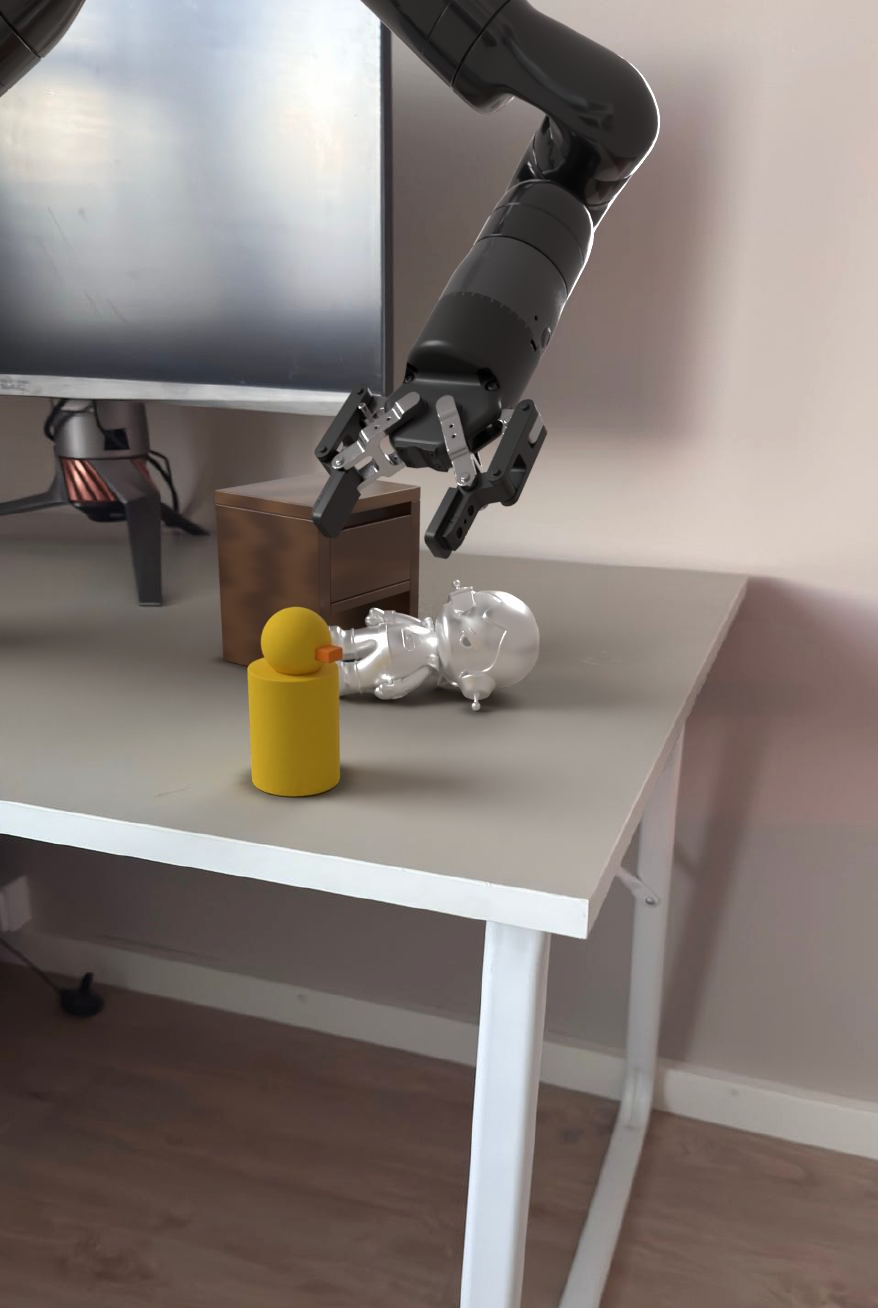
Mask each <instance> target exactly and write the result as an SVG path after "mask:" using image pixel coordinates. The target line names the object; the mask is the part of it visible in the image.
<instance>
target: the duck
mask: <svg viewBox="0 0 878 1308" xmlns="http://www.w3.org/2000/svg"><path fill="white" fill-rule="evenodd" d="M261 648H262V652H263V655H264V657H265V658H261V659H258V660H256V661H254V662H252V663H251V664H250V665H249V666H247V669H246V670H247V691H248V693H247V694H248V714H249V715H248V716H249V718H248V719H249V739H250V741H249V742H250V763H251V764H250V765H251V767H250V768H251V781H252V784H253V785H254V786H255V788H257V789H258V790H260V791H261V792H264V793H266V794H271V795H274V796H279V797H280V796H281V797H305V796H306V797H308V796H313V795H318V794H321V793H325V792H327V791H329V790H331V789H333V788H334V787H336V786H337V785H338V784H339V782H340V780H341V758H340V757H341V754H340V751H341V750H340V749H341V748H340V747H341V746H340V742H341V741H340V696H339V667H338V665H337V664H336V663H335V662H336V661H338V660H341V659H342V658H343V649H342V647H338V646H334V645H332V637H331V632H330V630H329V628H328V626H327V624H326V622H325V621H324V620H323V619H322V618H321V617H320V616H319V615H318V614H317V613H315V612H313V611H312V610H309V609H306V608H302V607H290V608H286V609H283V610H281V611H279V612H277V613H276V614H274V615H273V616H272V617H271V618H270V619H269V620H268V622H267V623H266V625H265V627H264V629H263V632H262V636H261Z"/></svg>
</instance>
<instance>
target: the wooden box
mask: <svg viewBox="0 0 878 1308" xmlns="http://www.w3.org/2000/svg"><path fill="white" fill-rule="evenodd" d="M329 477H330V475H329V474H328V472H322V471H321V472H315V473H307V474H303V475H296V476H291V477H285V478H278V479H273V480H267V481H262V482H255V483H249V484H244V485H237V486H232V487H231V486H230V487H226V488H219V489H215V490H214V502H215V520H216V521H215V522H216V523H215V524H216V541H217V542H216V543H217V564H218V578H219V579H218V581H219V582H218V583H219V602H220V603H219V604H220V620H221V621H220V622H221V641H222V643H221V644H222V660H223V661H225V662H229V663H233V664H237V665H240V666H244V667H248V666H249V665H250V664H251V663H252V662H254V661H256V660H258V659H261V658H265V657H264V655H263V652H262V648H261V636H262V632H263V629H264V627H265V625H266V623H267V622H268V620H269V619H270V618H271V617H272V616H273V615H274V614H276V613H277V612H279V611H281V610H283V609H286V608H290V607H302V608H306V609H309V610H312V611H313V612H315V613H317V614H318V615H319V616H320V617H321V618H322V619H323V620H324V621H325V622H326V624H327V626H339V627H340V628H341V629H342V630H351V628H354V630H356V629H361V628H366V627H367V625H366V624H365V618H366V617H367V616H368V615H369V614H370V613H369V611H370V609H371V608H378V609H380V610H383V611H391V610H393V611H395V612H396V613H401V614H405V615H409V616H412V617H414V618H417V619H419V605H420V604H419V603H420V600H419V599H420V597H419V596H420V595H419V594H420V548H421V547H420V545H421V543H420V542H421V493H422V492H421V488H422V487H421V486H420V485H415V484H406V483H400V482H399V483H398V482H392V481H387V480H379V479H376V480H375V481H374V482H372V483H371V484H369V485H368V486H366V487H365V488H363V489H362V490H360V491H359V492H360V493H361V496H360V497H359V499H358V501H357V503H356V505H355V507H354V508H353V510H352V512H351V514H350V516H349V517H348V519H347V521H346V523H345V525H344V527H343V528H342V530H341V532H340V534H339V536H338V537H337V538H335V539H334V538H328V537H324V536H323V535H322V533H321V532H320V531H319V530H318V528H317V527H316V526H315V524H314V523H313V520H312V517H313V515H312V508H313V506H314V504H315V502H316V500H317V499H318V497H319V495H320V493H321V491H322V490H323V488H324V486H325V484H326V482H327V481H328V479H329Z"/></svg>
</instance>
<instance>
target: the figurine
mask: <svg viewBox="0 0 878 1308" xmlns="http://www.w3.org/2000/svg"><path fill="white" fill-rule="evenodd" d="M451 586H452V588H454V590H452V591H451V592H449V594H448V597H447V602H446V603H445V604H443V605H441V606H440V608H439V609H438V611H437V614H436V618H435V625H434V621H433V618H432V617H430V616H429V617H424V618H422V620H421V619H419V618H418V619H417V618H414V617H412V616H409V615H405V614H401V613H396V612H395V611H393V610H391V611H383V610H380V609H378V608H371V609H370V611H369V613H370V614H369V615H368V616H367V617H366V618H365V624H366V625H367V627H366V628H361V629H356V630H354V628H351V630H342V629H341V628H340V627H339V626H328V628H329V630H330V632H331V637H332V645H334V646H338V647H342V649H343V658H342V659H341V660H338V661H336V662H335V663H336V664H337V665H338V667H339V697H342V696H344V695H349V694H356V693H359V694H363V693H364V691H369V690H373V694H374V696H375V697H376V698H378V699H380V700H397V699H401V698H403V697H405V696H408V695H409V693H411V692H413V691H414V690H416V689H417V688H418V687H420V686H421V685H423V684H424V683H425V682H427V680H429V678H430V677H432V678H435V679H437V684H436V685H437V686H438V687H442V686H445V685H447V684H450V685H451V686H452V687H455V688H458V689H459V690H460V691H461V693H462V695H463V696H464V697H465V698H466V699H469V700H473V702H472V703H471V709H472V710H473V711H476V712H477V711H479V710H480V709H481V704H480V702H479V701H482V700H484V699H487V698H488V697H490V695H491V693H492V691H495V690H500V689H505V688H508V687H510V686H514V685H516V684H518V683H520V682H521V681H523V680H524V679H525V678H526V677H527V676H529V674H530V673H531V672H532V670H533V669H534V667H535V666H536V664H537V661H538V659H539V655H540V647H541V645H540V644H541V643H540V641H541V640H540V639H541V638H540V637H541V636H540V635H541V634H540V629H539V626H538V624H537V621H536V618H535V616H534V614H533V612H532V610H531V609H530V608H529V606H528V605H527V604H526V603H525V602H524V601H522V599H519V598H518V597H516V596H514V595H513V594H511V593H508V592H505V591H502V590H479V591H475V590H474V589H473V585H472V586H462V587H461V581H460V580H458V579H455V580H452V583H451ZM349 660H351V661H349ZM352 660H354V661H352ZM346 661H349V662H346Z"/></svg>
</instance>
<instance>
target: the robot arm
mask: <svg viewBox="0 0 878 1308" xmlns="http://www.w3.org/2000/svg"><path fill="white" fill-rule="evenodd" d="M359 1H360V2H361V3H362V4H363V5H364V6H365V7H366V8H367V9H368V10H369V11H370V12H371V13H372V14H373V15H374V16H376V18H377V19H378V20H379V21H380V22H381V23H382V24H383V25H385V27H386V28H388V29H389V30H390V32H391V33H392V34H394V35H395V37H396V38H398V40H399V41H400V42H402V43H403V44H404V45H405V47H406V48H407V49H408V50H410V51H411V52H412V53H413V54H414V55H415V56H416V58H418V59H419V60H420V62H422V63H423V65H425V66H426V67H427V68H428V69H429V70H430V71H431V72H432V73H433V74H434V75H435V76H436V77H437V78H438V79H439V80H440V81H441V82H443V83H444V85H445V86H447V88H448V89H450V90H451V91H452V92H453V93H454V94H455V95H456V96H457V97H458V98H459V99H460V100H461V101H462V102H463V103H465V105H467V106H468V107H469V108H471V109H472V110H474V111H475V112H477V113H478V114H481V115H486V116H489V115H492V114H496V113H497V112H500V111H501V110H503V109H504V108H505V107H506V106H508V104H510V102H512V101H513V100H514V99H515V98H516V99H519V100H520V101H523V102H525V103H526V104H529V105H530V106H533V107H535V108H536V109H537V110H538V111H541V112H542V113H544V116H543V118H542V120H541V121H540V123H539V125H538V127H537V128H536V130H535V132H534V134H533V135H532V137H531V139H530V141H529V142H528V144H527V146H526V148H525V150H524V152H523V154H522V156H521V158H520V160H519V162H518V164H517V166H516V168H515V170H514V172H513V173H512V177H511V179H510V181H509V182H508V185H507V188H506V190H505V193H504V194H503V195H502V197H501V198H500V199H499V201H498V202H497V203H496V205H495V206H494V208H493V210H492V211H491V213H490V215H488V218H487V219H486V221H485V223H484V225H483V226H482V229H481V230H480V232H479V234H478V235H477V237H476V239H475V241H474V242H473V245H472V246H471V248H470V250H469V252H468V253H467V254H466V256H465V257H464V258H463V260H462V261H461V262H460V263H459V264H458V266H457V267H456V268H455V269H454V272H453V273H452V275H451V276H450V278H449V279H448V282H447V284H446V286H445V287H444V288H443V291H442V292H441V294H440V296H439V298H438V300H437V302H436V303H435V305H434V307H433V308H432V310H431V312H430V314H429V316H428V317H427V320H426V321H425V323H424V325H423V327H422V328H421V330H420V332H419V333H418V336H417V337H416V339H415V341H414V343H413V345H412V346H411V348H410V350H409V352H408V354H407V358H406V362H405V363H406V364H405V373H404V377H403V378H404V379H403V381H402V383H401V384H400V385H399V386H398V387H397V388H396V389H395V390H394V391H393V392H392V393H391V394H389V395H388V396H383V395H376V394H373V393H372V392H371V390H370V388H369V387H368V385H366V383H365V384H364V383H360V384H358V385H356V386H355V387H353V389H352V390H351V391H350V392H349V395H348V396H347V398H346V399H345V400H344V403H343V404H342V406H341V407H340V409H339V411H337V414H336V415H335V417H334V418H333V420H332V421H331V423H330V425H329V426H328V428H327V430H326V431H325V433H324V434H323V436H322V438H321V439H320V440H319V442H318V444H317V445H316V447H315V449H314V456H315V457H316V459H317V460H318V461H319V463H321V466H322V467H323V469H324V470H325V471H326V473H328V474H329V475H330V477H329V479H328V481H327V482H326V484H325V486H324V488H323V490H322V491H321V493H320V495H319V497H318V499H317V500H316V502H315V504H314V506H313V508H312V515H313V517H312V520H313V523H314V524H315V526H316V527H317V528H318V530H319V531H320V532H321V533H322V535H323V536H324V537H328V538H334V539H335V538H337V537H338V536H339V534H340V532H341V530H342V528H343V527H344V525H345V523H346V521H347V519H348V517H349V516H350V514H351V512H352V510H353V508H354V507H355V505H356V503H357V501H358V499H359V497H360V496H361V493H360V492H359V491H360V490H362V489H363V488H365V487H366V486H368V485H369V484H371V483H372V482H374V481H375V480H379V478H382V477H385V478H391V477H393V476H394V475H396V474H397V473H399V472H400V471H401V470H403V469H405V468H410V469H425V468H426V469H427V468H429V469H431V470H434V471H436V472H439V473H449V470H450V469H452V470H453V474H454V479H455V482H456V485H457V486H456V487H452V486H449V487H448V488H447V490H446V492H445V494H444V496H443V498H442V499H441V501H440V503H439V506H438V507H437V510H436V511H435V513H434V514H433V517H432V519H431V521H430V522H429V524H428V527H427V528H426V530H425V533H424V536H423V540H424V541H423V542H424V543H425V545H426V547H427V548H428V549H429V552H430V553H431V554H432V556H433V557H434V558H436V559H437V558H438V559H443V560H447V559H449V558H450V556H451V554H452V552H456V551H457V550H458V549H459V548H460V547H461V546H462V545H463V543H464V541H465V539H466V537H467V535H468V533H469V531H470V530H471V527H472V525H473V523H474V522H475V520H476V517H477V515H478V513H480V512H481V511H483V510H485V509H487V508H488V506H489V505H492V504H497V503H500V504H501V505H502V506H503V507H512V506H514V505H515V504H517V502H518V501H519V500H520V497H521V495H522V493H523V490H524V488H525V486H526V484H527V481H528V479H529V477H530V474H531V472H532V470H533V467H534V465H535V463H536V461H537V459H538V457H539V454H540V451H541V449H542V447H543V444H544V442H545V441H546V437H547V436H548V428H547V426H546V425H545V423H544V420H543V417H542V415H541V413H540V411H539V409H538V407H537V405H536V403H535V401H534V400H533V399H530V398H526V399H523V400H521V399H522V398H523V395H524V393H525V391H526V389H527V387H528V385H529V384H530V382H531V380H532V378H533V376H534V374H535V372H536V371H537V368H538V366H539V364H540V362H541V361H542V359H543V357H544V355H545V353H546V351H547V349H548V347H549V345H550V343H551V341H552V339H553V337H554V336H555V332H556V330H557V327H558V324H559V322H560V319H561V315H562V312H563V310H564V308H565V305H566V303H567V301H568V299H569V297H570V296H571V294H572V292H573V290H574V289H575V286H576V284H577V282H578V280H579V279H580V276H581V275H582V273H583V271H584V269H585V266H586V264H587V262H588V260H589V257H590V254H591V250H592V247H593V243H594V235H595V234H594V233H595V231H596V229H597V228H598V226H599V225H600V222H601V221H602V219H603V218H604V216H605V215H606V213H607V212H608V210H609V209H610V207H611V205H612V204H613V203H614V201H615V199H616V198H617V197H618V196H619V194H620V193H621V191H622V190H623V188H624V187H625V186H626V185H627V183H628V182H629V180H630V179H631V178H632V177H633V175H634V173H635V172H636V171H637V170H638V168H639V167H640V166H641V164H643V162H644V160H645V159H646V158H647V156H649V154H650V153H651V151H652V150H653V148H654V146H655V143H656V141H657V139H658V136H659V132H660V123H661V120H660V111H659V107H658V104H657V101H656V98H655V95H654V93H653V91H652V89H651V87H650V85H649V83H648V82H647V80H646V79H645V77H644V76H643V75H642V73H641V72H640V71H639V70H638V69H637V68H636V67H635V66H634V65H633V64H632V63H630V62H629V61H628V60H627V59H625V58H624V57H622V56H621V55H619V54H618V53H616V52H615V51H613V50H611V49H610V48H608V47H606V46H604V45H602V44H600V43H599V42H597V41H594V40H593V39H591V38H590V37H588V36H585V35H584V34H582V33H580V32H579V31H576V30H575V29H573V28H572V27H570V26H568V25H567V24H565V23H563V22H561V21H559V20H557V19H554V18H553V17H551V16H549V15H547V14H545V13H543V12H541V11H540V10H538V9H537V8H535V7H534V6H533V5H532V4H531V3H530V2H529V1H528V0H359ZM86 2H87V0H0V98H2V97H3V96H4V95H5V94H6V93H8V92H9V90H11V89H12V88H13V87H14V86H15V85H16V84H17V83H18V82H19V81H21V80H22V78H23V77H25V76H27V74H28V73H29V72H31V71H32V69H34V68H35V67H36V66H37V65H38V64H39V63H40V62H42V58H43V59H44V58H46V57H47V56H48V54H50V53H51V52H52V51H53V50H54V49H55V47H56V46H57V45H58V44H59V43H60V42H61V41H62V40H63V38H64V37H65V36H66V34H67V33H68V31H69V30H70V28H71V27H72V26H73V24H74V23H75V21H76V19H77V18H78V16H79V14H80V13H81V11H82V9H83V7H84V5H85V4H86ZM386 437H388V440H389V442H388V443H389V444H390V447H391V448H392V450H393V452H391V453H388V454H386V453H384V452H383V450H382V449H381V447H380V444H381V442H382V440H384V439H385V438H386ZM500 437H501V439H500V441H499V443H498V446H497V448H496V450H495V452H494V455H493V457H492V459H491V461H490V463H489V466H488V468H487V470H486V471H485V469H484V465H483V461H482V457H481V453H480V452H481V451H482V450H483V449H484V448H486V447H488V446H489V445H490V444H492V443H493V442H495V441H496V440H497V439H498V438H500ZM341 444H342V448H341V450H340V451H339V450H338V448H339V447H340V445H341ZM367 457H371V458H372V459H371V460H370V461H369V462H368V463H366V464H365V465H363V466H362V467H360V468H357V466H356V465H357V464H359V463H360V462H361V461H364V459H366V458H367Z"/></svg>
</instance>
